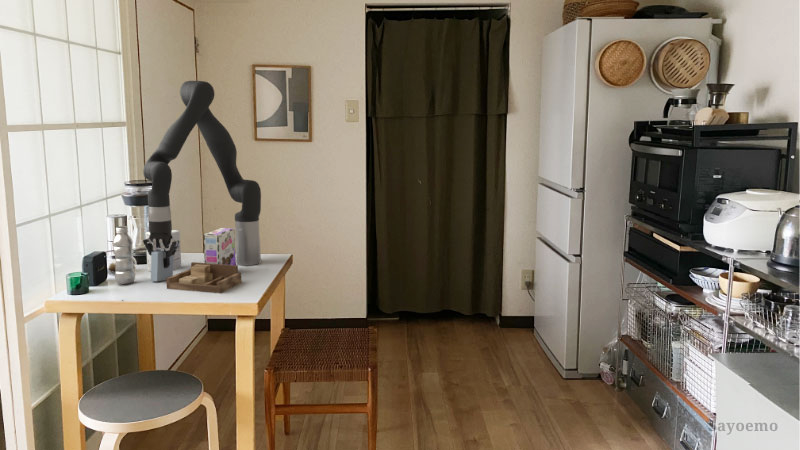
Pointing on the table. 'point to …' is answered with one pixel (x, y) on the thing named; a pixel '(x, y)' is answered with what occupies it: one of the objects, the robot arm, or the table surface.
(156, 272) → the board
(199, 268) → the offcut
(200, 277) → the offcut
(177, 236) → the supplement box
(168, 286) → the tray
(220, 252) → the candy box
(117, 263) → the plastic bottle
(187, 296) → the table surface
